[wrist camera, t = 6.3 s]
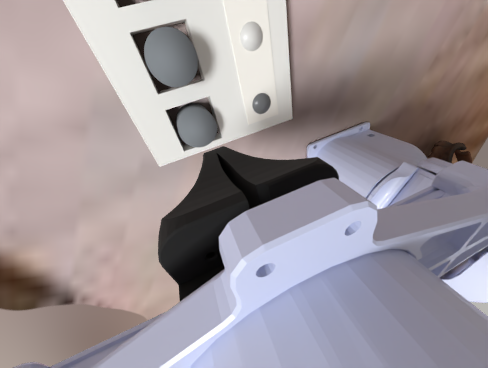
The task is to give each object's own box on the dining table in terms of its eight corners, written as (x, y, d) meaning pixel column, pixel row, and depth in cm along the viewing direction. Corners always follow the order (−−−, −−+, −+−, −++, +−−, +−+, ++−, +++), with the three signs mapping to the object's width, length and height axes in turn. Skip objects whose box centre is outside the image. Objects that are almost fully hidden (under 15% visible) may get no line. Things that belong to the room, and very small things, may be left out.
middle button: (183, 25, 13) (186, 20, 11) (199, 77, 15) (204, 79, 13) (137, 37, 13) (132, 34, 11) (159, 88, 15) (159, 93, 13)
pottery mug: (381, 180, 35) (440, 179, 27) (396, 136, 37) (456, 124, 29) (416, 206, 39) (476, 212, 31) (428, 165, 40) (489, 162, 33)
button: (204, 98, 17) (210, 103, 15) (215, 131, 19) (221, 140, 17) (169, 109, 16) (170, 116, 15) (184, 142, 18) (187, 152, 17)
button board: (266, -124, 12) (279, -146, 10) (285, 115, 21) (293, 119, 20) (19, -89, 10) (-4, -113, 8) (159, 160, 19) (159, 167, 17)
